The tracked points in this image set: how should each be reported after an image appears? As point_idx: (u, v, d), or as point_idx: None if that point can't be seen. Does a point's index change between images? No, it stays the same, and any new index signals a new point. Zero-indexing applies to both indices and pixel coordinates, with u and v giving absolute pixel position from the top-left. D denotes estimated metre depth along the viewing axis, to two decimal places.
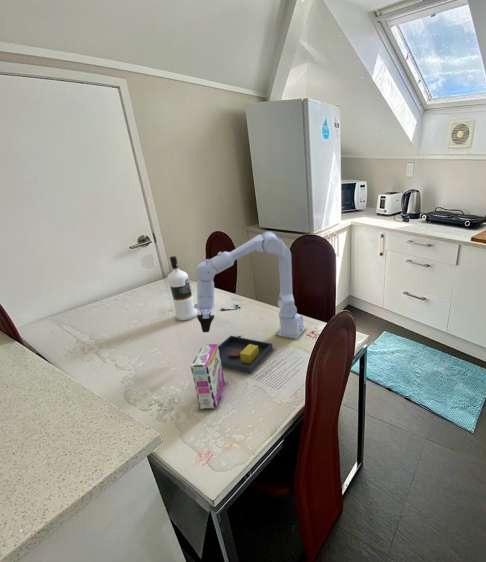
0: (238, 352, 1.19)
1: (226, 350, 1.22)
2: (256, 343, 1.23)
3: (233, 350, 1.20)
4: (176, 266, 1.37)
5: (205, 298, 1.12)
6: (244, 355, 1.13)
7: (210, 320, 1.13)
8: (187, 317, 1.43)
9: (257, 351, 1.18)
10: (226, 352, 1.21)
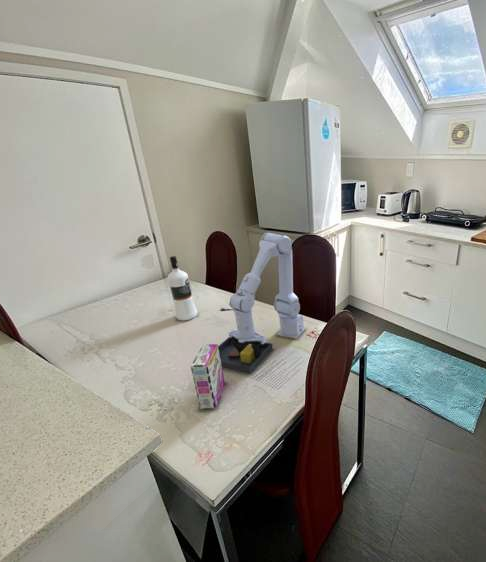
0: (238, 352, 1.19)
1: (226, 350, 1.22)
2: None
3: (233, 350, 1.20)
4: (176, 266, 1.37)
5: (252, 326, 1.11)
6: (244, 355, 1.13)
7: None
8: (187, 317, 1.43)
9: None
10: (226, 352, 1.21)
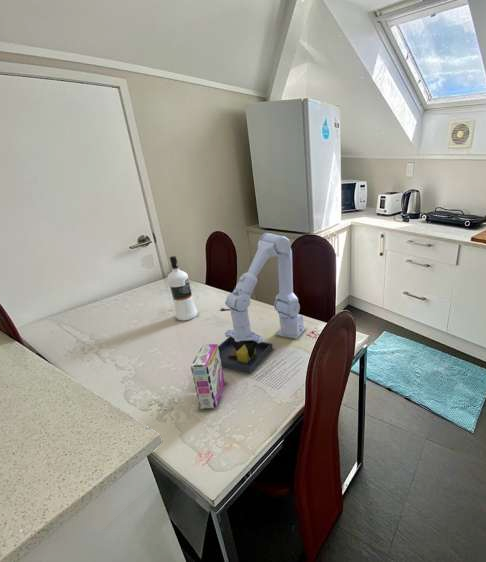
0: None
1: (226, 350, 1.22)
2: (256, 343, 1.23)
3: (233, 350, 1.20)
4: (176, 266, 1.37)
5: (248, 326, 1.11)
6: (240, 354, 1.14)
7: (256, 342, 1.15)
8: (187, 317, 1.43)
9: None
10: (226, 352, 1.21)
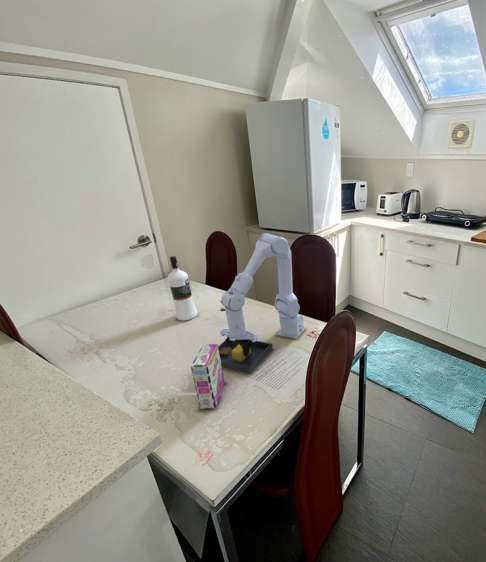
0: (227, 350, 1.20)
1: None
2: (256, 343, 1.23)
3: (223, 348, 1.21)
4: (176, 266, 1.37)
5: (243, 325, 1.12)
6: (235, 353, 1.14)
7: (251, 341, 1.16)
8: (187, 317, 1.43)
9: None
10: None
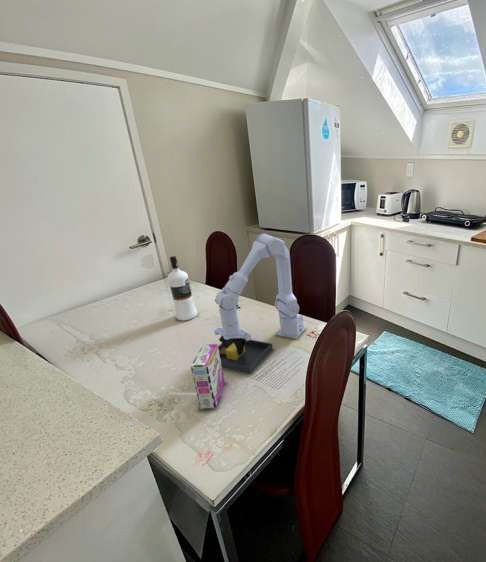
0: None
1: None
2: (256, 343, 1.23)
3: (223, 348, 1.21)
4: (176, 266, 1.37)
5: (236, 324, 1.13)
6: (229, 352, 1.15)
7: (245, 339, 1.17)
8: (187, 317, 1.43)
9: None
10: None
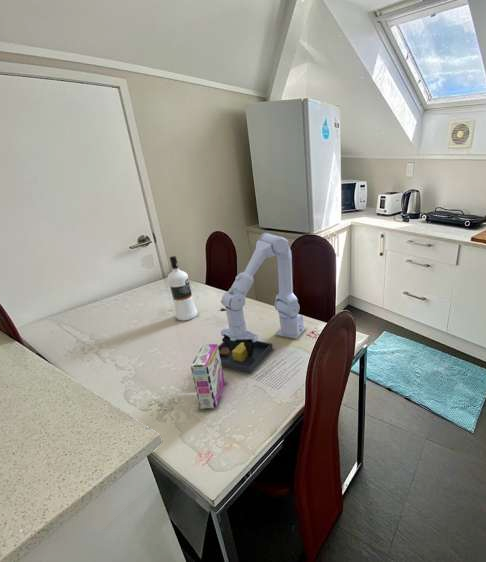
0: (227, 351, 1.19)
1: None
2: (256, 343, 1.23)
3: (223, 348, 1.21)
4: (176, 266, 1.37)
5: (243, 325, 1.12)
6: (236, 353, 1.14)
7: (255, 341, 1.15)
8: (187, 317, 1.43)
9: None
10: None
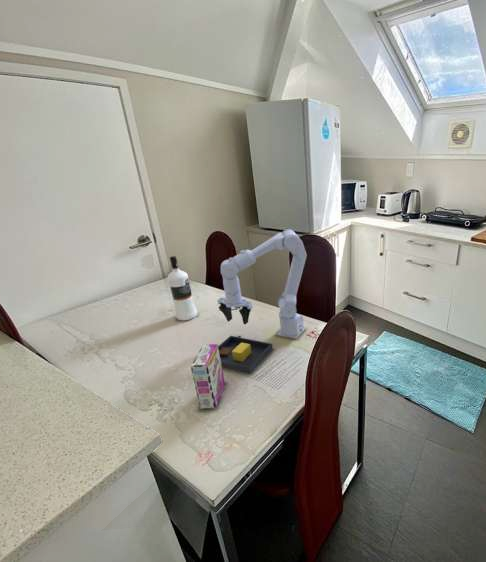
0: (227, 351, 1.19)
1: None
2: (256, 343, 1.23)
3: (223, 348, 1.21)
4: (176, 266, 1.37)
5: (238, 293, 1.18)
6: (236, 353, 1.14)
7: (250, 309, 1.22)
8: (187, 317, 1.43)
9: (249, 349, 1.19)
10: None
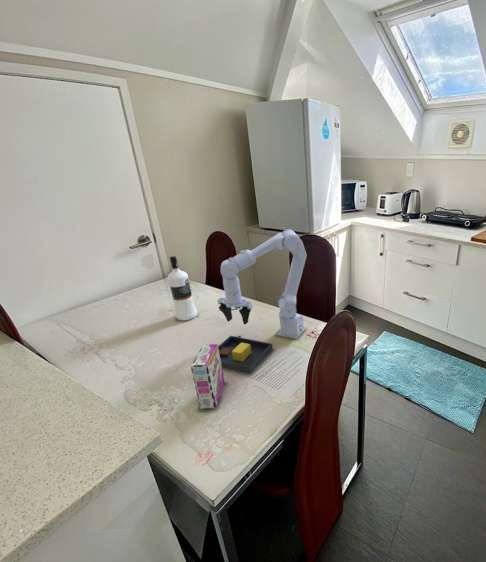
0: (227, 351, 1.19)
1: None
2: (256, 343, 1.23)
3: (223, 348, 1.21)
4: (176, 266, 1.37)
5: (238, 293, 1.18)
6: (236, 353, 1.14)
7: (250, 309, 1.22)
8: (187, 317, 1.43)
9: (249, 349, 1.19)
10: None
